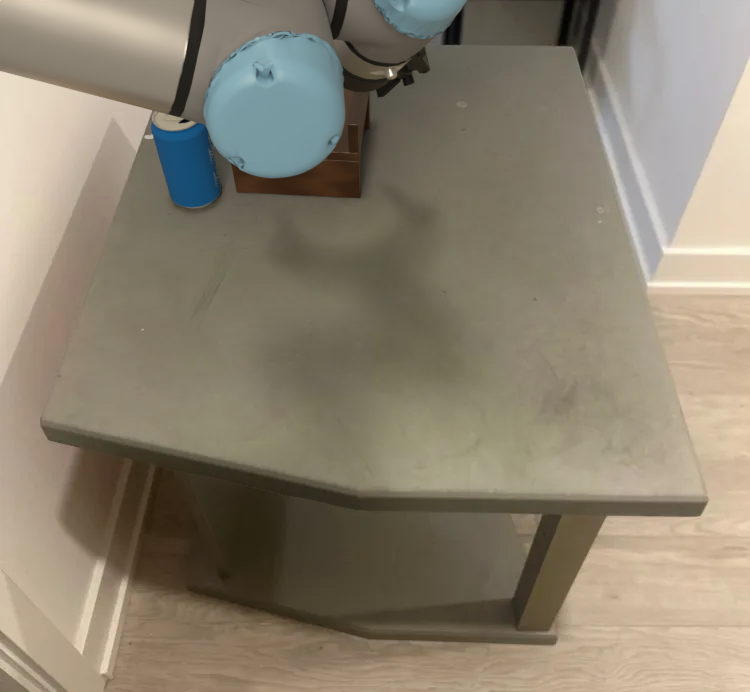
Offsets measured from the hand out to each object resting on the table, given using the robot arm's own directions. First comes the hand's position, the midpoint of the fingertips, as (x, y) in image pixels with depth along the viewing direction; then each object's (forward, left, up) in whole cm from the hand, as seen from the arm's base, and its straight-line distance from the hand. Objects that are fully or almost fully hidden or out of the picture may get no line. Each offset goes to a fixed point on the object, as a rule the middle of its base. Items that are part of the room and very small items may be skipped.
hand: (321, 98), depth 82 cm
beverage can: (-17, 0, -15) cm, 23 cm away
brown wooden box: (-4, +9, -15) cm, 18 cm away
